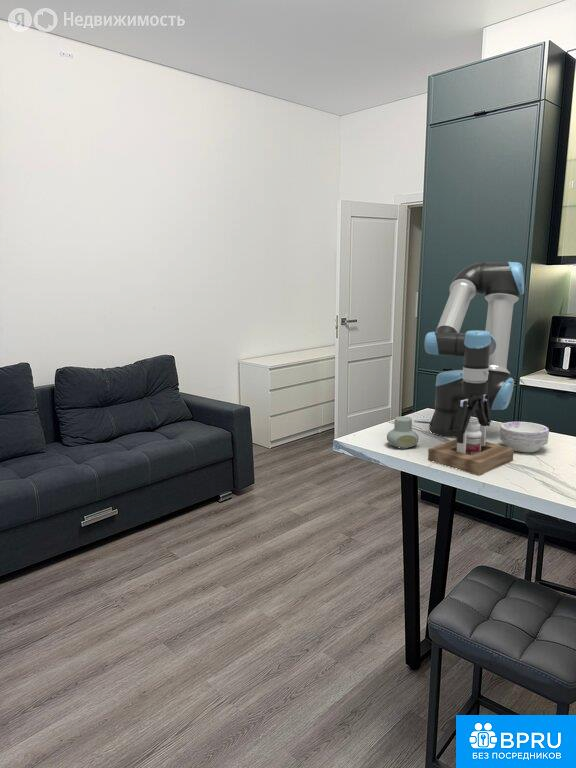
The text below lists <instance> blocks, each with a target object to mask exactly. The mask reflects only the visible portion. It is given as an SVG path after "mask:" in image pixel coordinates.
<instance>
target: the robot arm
mask: <svg viewBox="0 0 576 768" xmlns="http://www.w3.org/2000/svg"><path fill="white" fill-rule="evenodd" d="M524 277H525V276H524V267H523V265H522V263H520V262H517V261H506V262H505V261H504V262H503V261H500V262H499V261H498V262H493V261H492V262H490V261H489V262H482V261H481V262H475V263H473V264H470V265H468V266H466V267H465V268H462V270H460V271H459V272H458V273H457V274H456V275H455V276H454V278H453V279H452V280H451V283H450V286H449V290H448V291H449V296H448V299H447V300H446V304H445V306H444V309H443V312H442V314H441V316H440V319H439V322H438V324H437V327H436V330H435V331H430V332H427V333H426V335H425V338H424V350H425V353H427V354H428V355H435V356H450V357H451V356H452V357H463V365H462V369H455V370H447V371H446V370H445V371H441V372H438V374H437V375H436V378H435V379H436V381H435V396H434V397H435V398H434V400H435V401H434V411H433V415H432V417H431V420H430V423H429V429H428V430H430V431H431V432H432V433H431V432H430V431H429V432H430V433H431V434H433V433H435V434H438V435H437V436H439V435H441V436H440V437H445V436H447V437H446V438H448V437H449V438H456V439H457V452H460V453H464V454H465V453H466V438H467V433H465V431H466V428H467V426H468V423H469V422H470V419H471V417H472V415H473V414H474V413H475V414H476V417H477V421H478V424H480V429H479V431H481V433H482V444H481V446H485V442H486V441H487V439H486V438H487V427H490V426H491V423H492V417H491V411H490V410H492V411H493V410H498V411H499V410H501V411H504V410H506V409H507V408H508V406H509V404H510V402H511V399H512V395H513V391H514V386H515V380H514V378H512V377H511V372H510V371H509V370H508V369H507V367H508V366H507V364H508V357H509V349H510V348H509V347H510V339H511V331H512V330H511V329H512V319H513V312H514V304H515V303H517V302H518V301H519V299H520V296H522V295H524V294H525V278H524ZM476 295H484V299H485V300H486V301H487V315H486V320H485V321H486V323H485V330H480V329H478V330H476V329H475V330H467V331H466V332H465V333H462V332H461V333H460V331H461V328H462V326H463V323H464V319H465V317H466V314H467V311H468V308H469V306H470V302H471V300H472V299H474V298H475V296H476ZM435 434H434V435H435Z"/></svg>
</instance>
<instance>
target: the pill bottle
mask: <svg viewBox="0 0 576 768" xmlns="http://www.w3.org/2000/svg"><path fill="white" fill-rule="evenodd" d="M479 429H480V424H479V422H478V423H477V422H470V421H469V423H468V426H467V428H466V431H465V433H467V438H466V453H465V454H468V455H471V456H472V455H475V454H477V453H480V452H481V444H482V433H481V431H479Z"/></svg>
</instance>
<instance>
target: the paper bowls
mask: <svg viewBox="0 0 576 768" xmlns="http://www.w3.org/2000/svg"><path fill="white" fill-rule="evenodd" d="M549 433H550V429H549V427H547V426H545V425H543V424H540V423H535V422H530V421H529V422H527V421H508V422H503V423H501V424H500V425H499V439H500V440H501V442H503V443H504V444H505V447H510V448H514V452H519V453H536V452H538V451H540V450H541V449H542V446H545V445H547V444H548V442H549Z"/></svg>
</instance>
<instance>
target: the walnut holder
mask: <svg viewBox="0 0 576 768" xmlns="http://www.w3.org/2000/svg"><path fill="white" fill-rule="evenodd" d="M514 452H515V451H514V448H510V447H507V446H506V445H500V444H497V443H494V442H489V441H485V446H481V452H480V453H477V454H475V455H472V456H471V455H468V454H464V453H460V452H457V438H455V439H452V440H449V441H447V442H444V443H443V442H442V443H440V444H438V445H434V446H432V447H429V448H428V457H427V461H428V460H430V462H432V461H434V462H433V463H435V462H436V463H435V464H438V463H439V465H442V464H443V465H442V466H445V465H446V466H445V467H448V466H450V467H449V468H452V467H453V468H452V469H455V468H457V469H456V470H459V469H460V470H459V471H462V470H463V471H462V472H465V471H466V473H470V474H472V475H475V474H476V476H481V475H484V474H485V473H488V472H491V471H493V470H495V469H497V468H499V467H501V466H503V465H506V464H509V463H510V462H513V461H514V454H515V453H514Z"/></svg>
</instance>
